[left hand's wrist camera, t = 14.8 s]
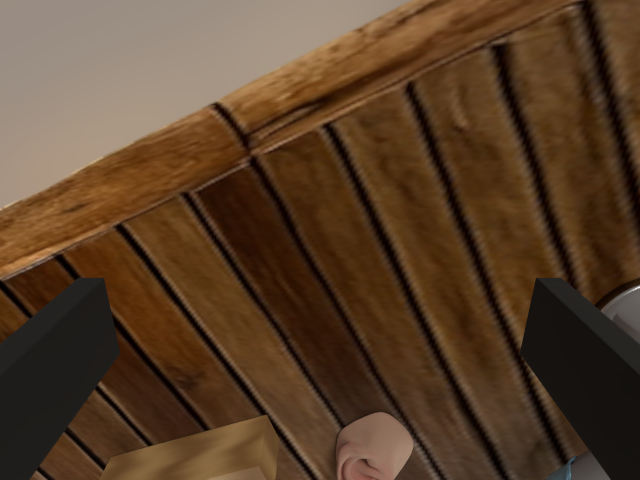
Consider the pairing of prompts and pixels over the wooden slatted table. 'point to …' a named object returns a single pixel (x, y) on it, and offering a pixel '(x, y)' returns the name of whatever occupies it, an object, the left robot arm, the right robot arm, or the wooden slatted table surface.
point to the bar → (205, 456)
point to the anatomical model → (372, 448)
